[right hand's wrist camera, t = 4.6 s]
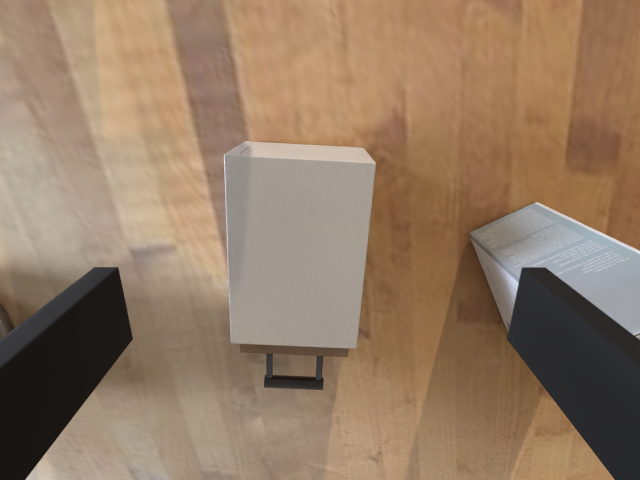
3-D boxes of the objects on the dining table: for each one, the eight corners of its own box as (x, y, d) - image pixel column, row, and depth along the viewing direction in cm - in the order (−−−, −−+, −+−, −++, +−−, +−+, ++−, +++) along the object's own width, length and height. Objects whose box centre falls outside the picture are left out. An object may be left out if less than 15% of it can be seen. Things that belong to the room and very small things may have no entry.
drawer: (339, 364, 44) (342, 406, 38) (251, 360, 44) (241, 402, 38) (356, 180, 37) (363, 198, 31) (249, 175, 36) (235, 191, 30)
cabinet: (349, 301, 42) (356, 349, 35) (247, 296, 42) (230, 343, 34) (364, 147, 36) (376, 162, 29) (244, 141, 36) (223, 154, 28)
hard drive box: (577, 317, 43) (775, 489, 24) (511, 343, 44) (650, 526, 26) (538, 197, 38) (748, 298, 19) (464, 231, 39) (595, 356, 21)
